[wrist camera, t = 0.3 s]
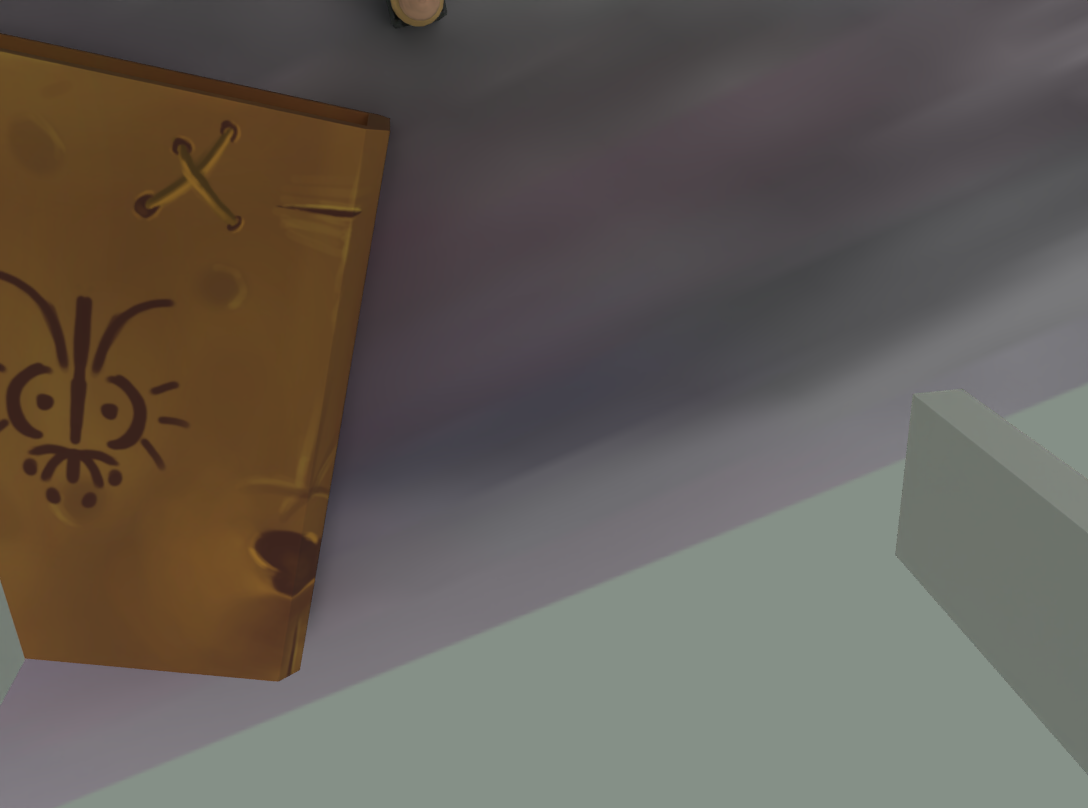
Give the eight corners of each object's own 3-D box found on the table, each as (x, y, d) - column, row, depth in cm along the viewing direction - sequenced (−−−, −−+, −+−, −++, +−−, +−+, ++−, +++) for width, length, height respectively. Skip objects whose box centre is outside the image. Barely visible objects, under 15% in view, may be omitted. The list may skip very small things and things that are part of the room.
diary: (308, 605, 47) (297, 684, 42) (-131, 558, 43) (-203, 638, 38) (389, 114, 39) (389, 135, 34) (-141, -1, 35) (-234, 2, 30)
